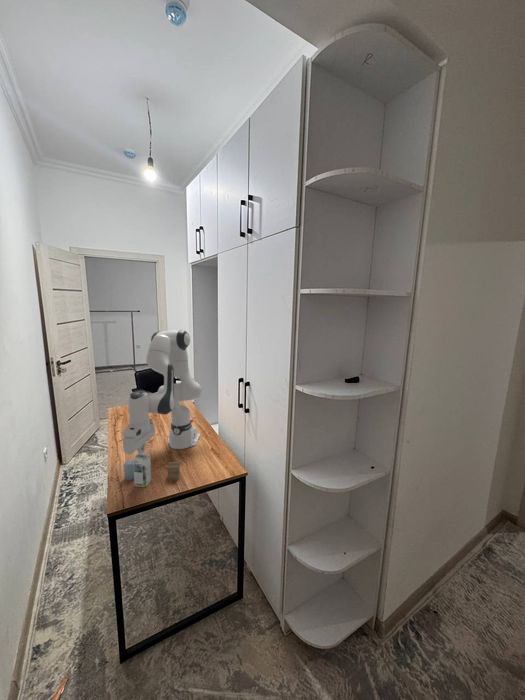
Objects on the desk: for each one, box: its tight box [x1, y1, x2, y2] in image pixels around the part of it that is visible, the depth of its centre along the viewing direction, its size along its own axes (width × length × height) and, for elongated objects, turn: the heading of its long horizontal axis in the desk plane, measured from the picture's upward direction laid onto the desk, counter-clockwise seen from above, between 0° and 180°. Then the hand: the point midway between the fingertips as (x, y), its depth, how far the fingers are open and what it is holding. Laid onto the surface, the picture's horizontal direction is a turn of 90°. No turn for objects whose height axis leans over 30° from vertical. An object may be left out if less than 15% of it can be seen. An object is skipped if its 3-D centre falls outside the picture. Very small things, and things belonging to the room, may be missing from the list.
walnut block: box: [166, 461, 180, 482], centre depth 145 cm, size 5×5×7 cm
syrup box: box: [132, 452, 152, 488], centre depth 139 cm, size 6×6×14 cm
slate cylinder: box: [123, 459, 134, 482], centre depth 144 cm, size 5×5×8 cm
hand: (141, 452), depth 138 cm, fingers closed
